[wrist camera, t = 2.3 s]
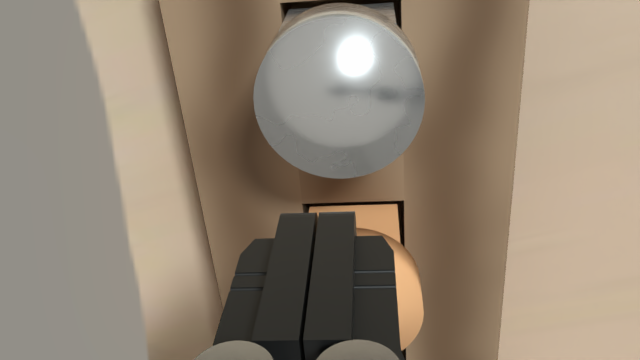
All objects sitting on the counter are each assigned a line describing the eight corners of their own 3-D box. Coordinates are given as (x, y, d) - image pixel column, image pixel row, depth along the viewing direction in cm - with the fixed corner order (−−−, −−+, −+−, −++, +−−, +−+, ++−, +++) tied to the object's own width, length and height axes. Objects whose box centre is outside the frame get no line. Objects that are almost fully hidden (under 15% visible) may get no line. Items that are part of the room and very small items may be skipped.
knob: (414, -21, 22) (425, 12, 18) (414, 118, 25) (424, 175, 21) (266, -11, 23) (241, 23, 18) (282, 123, 25) (264, 181, 21)
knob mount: (515, -103, 24) (537, -95, 21) (480, 391, 37) (490, 441, 34) (173, -75, 25) (145, -64, 22) (259, 391, 39) (249, 439, 35)
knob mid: (414, 188, 27) (424, 255, 22) (415, 286, 29) (423, 364, 25) (290, 192, 27) (275, 258, 23) (302, 288, 30) (290, 364, 25)
